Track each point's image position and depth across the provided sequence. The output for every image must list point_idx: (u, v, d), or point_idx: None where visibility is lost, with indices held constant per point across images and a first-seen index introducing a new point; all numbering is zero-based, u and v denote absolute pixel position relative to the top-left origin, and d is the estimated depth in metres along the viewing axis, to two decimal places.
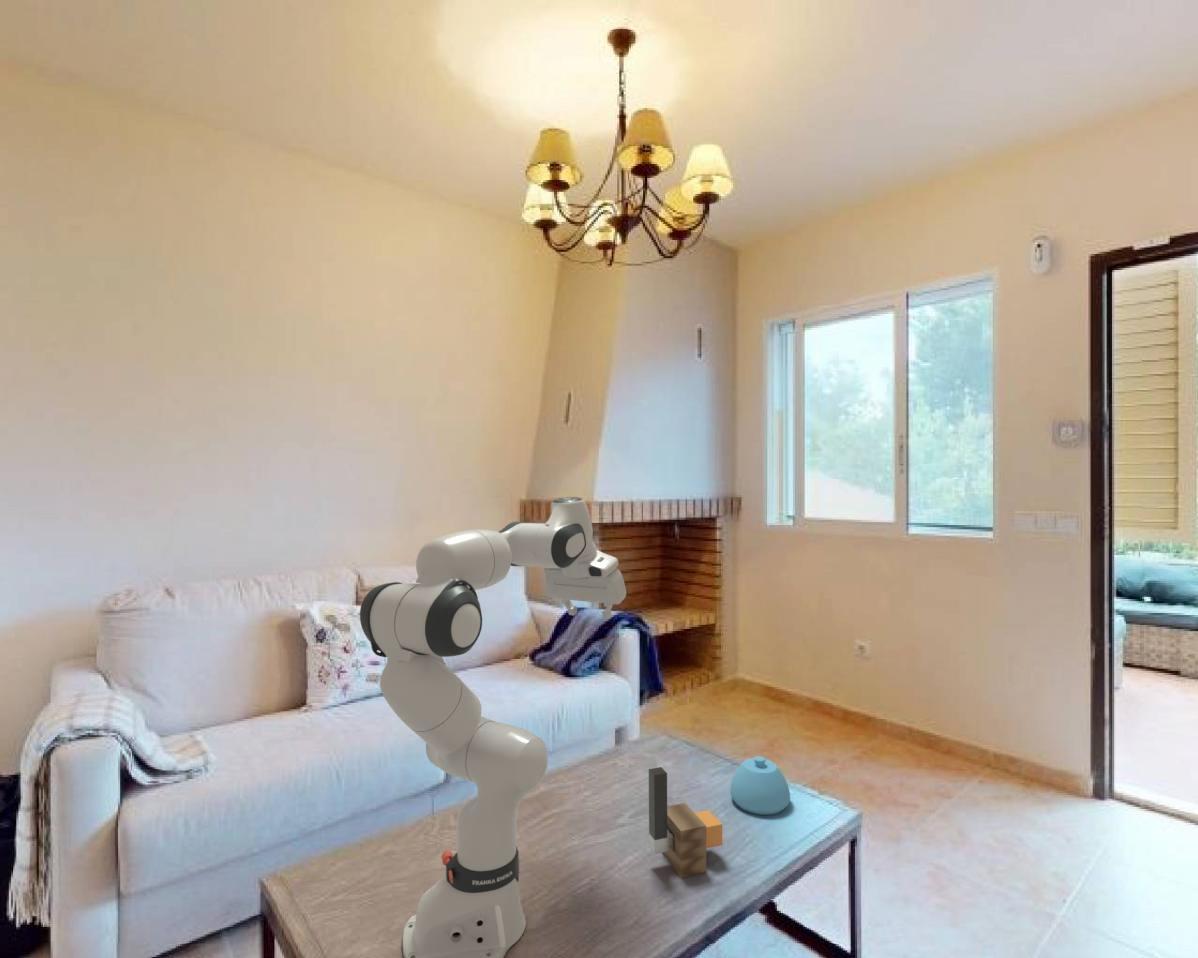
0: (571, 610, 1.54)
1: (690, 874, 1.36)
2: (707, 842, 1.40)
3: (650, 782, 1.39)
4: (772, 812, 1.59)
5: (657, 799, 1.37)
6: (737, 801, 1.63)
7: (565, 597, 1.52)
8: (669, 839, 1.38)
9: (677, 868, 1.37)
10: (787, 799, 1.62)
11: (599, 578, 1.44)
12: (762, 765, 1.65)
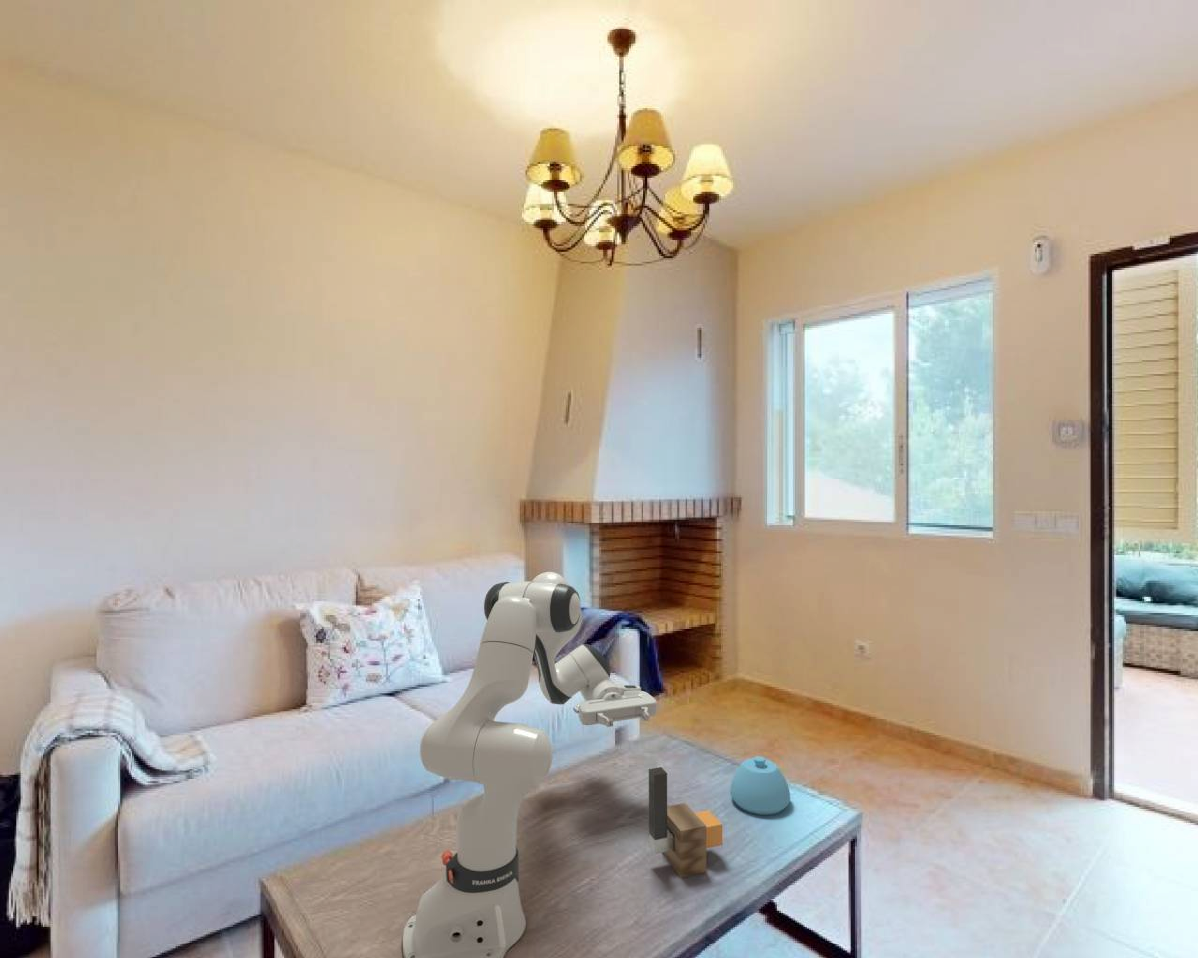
0: (609, 717, 1.55)
1: (690, 874, 1.36)
2: (707, 842, 1.40)
3: (650, 782, 1.39)
4: (772, 812, 1.59)
5: (657, 799, 1.37)
6: (737, 801, 1.63)
7: (602, 708, 1.58)
8: (669, 839, 1.38)
9: (677, 868, 1.37)
10: (787, 799, 1.62)
11: (634, 690, 1.68)
12: (762, 765, 1.65)
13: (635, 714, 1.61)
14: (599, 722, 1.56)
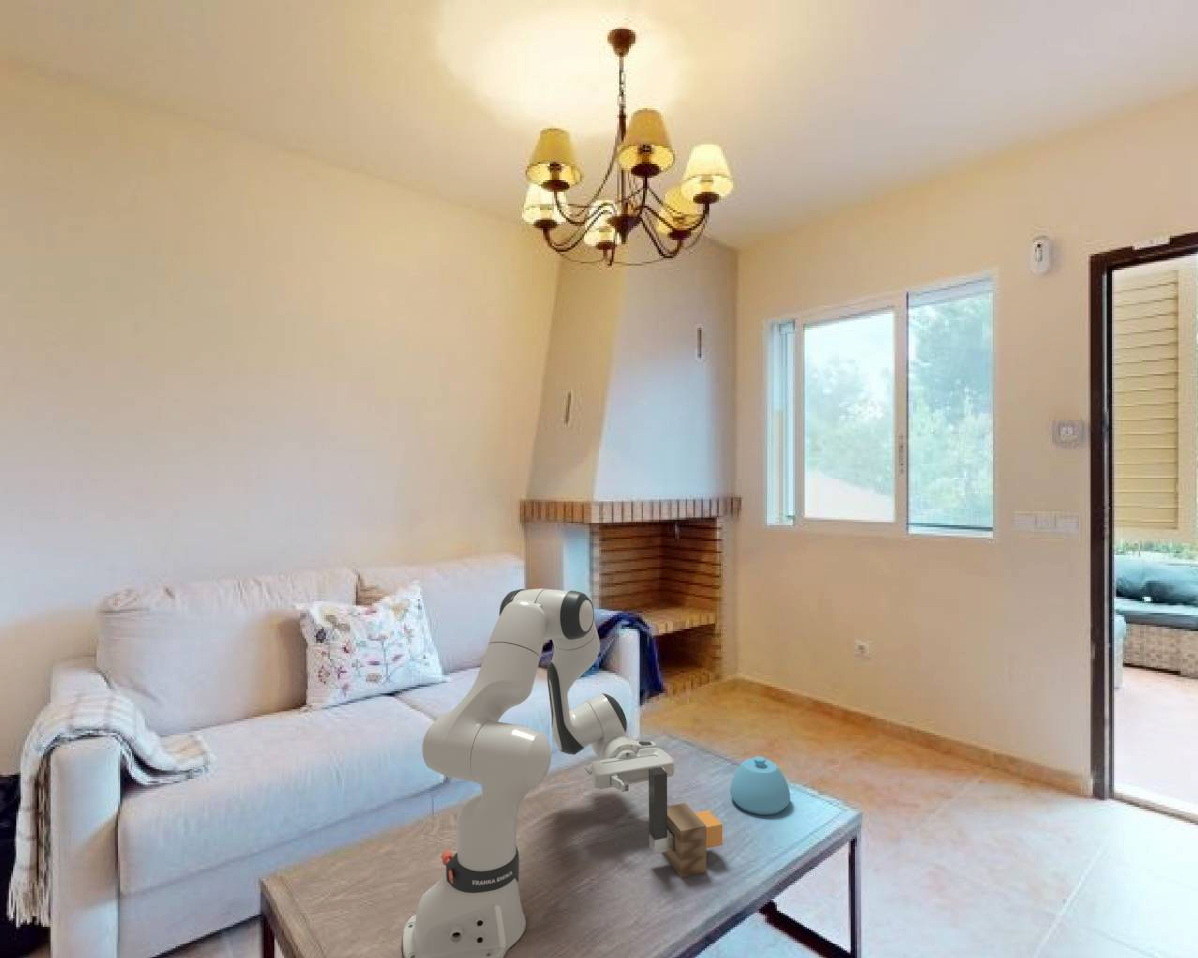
0: (624, 781, 1.45)
1: (690, 874, 1.36)
2: (707, 842, 1.40)
3: (650, 782, 1.39)
4: (772, 812, 1.59)
5: (657, 799, 1.37)
6: (737, 801, 1.63)
7: (617, 769, 1.49)
8: (669, 839, 1.38)
9: (677, 868, 1.37)
10: (787, 799, 1.62)
11: (650, 748, 1.58)
12: (762, 765, 1.65)
13: None
14: (613, 786, 1.46)
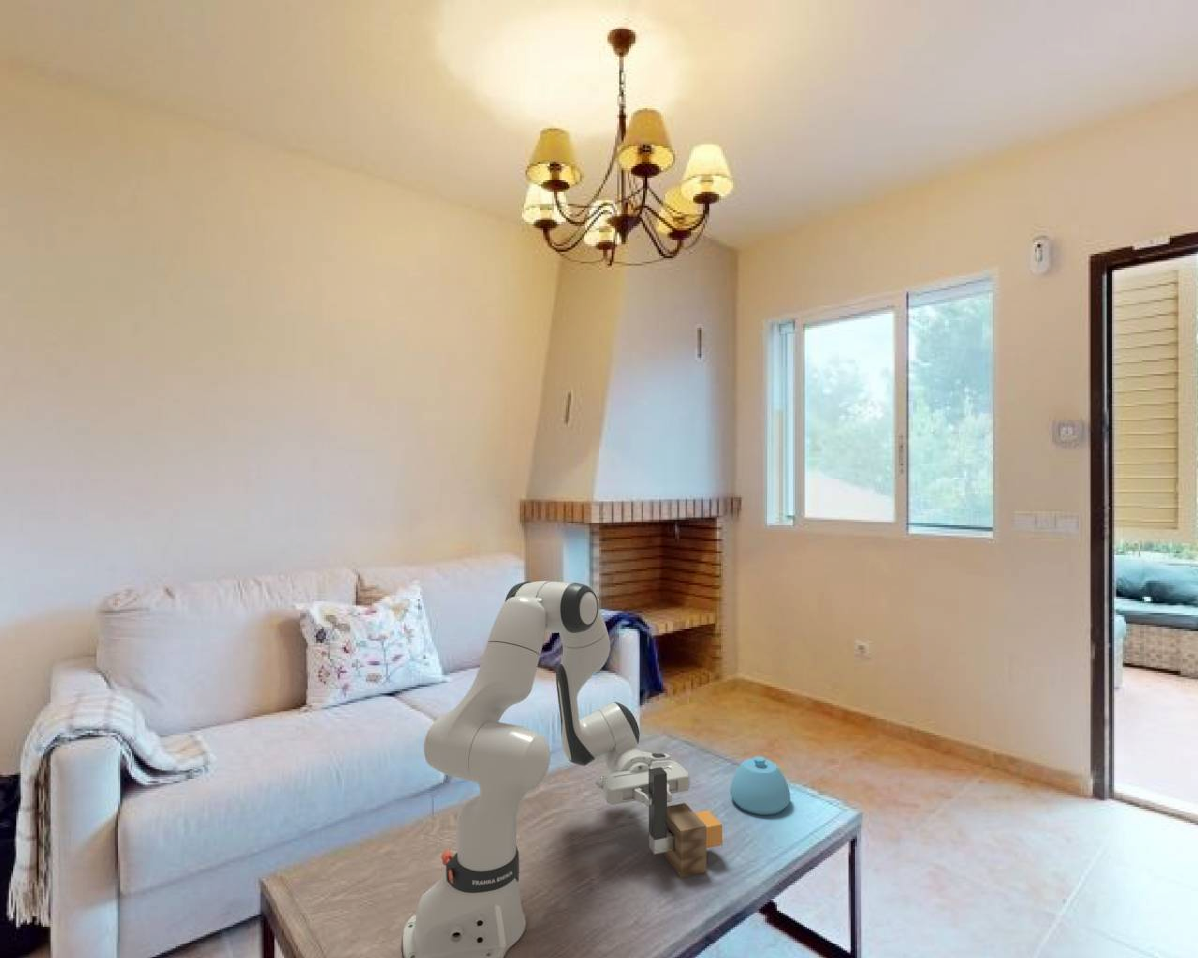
0: (648, 794, 1.39)
1: (690, 874, 1.36)
2: (707, 842, 1.40)
3: (650, 782, 1.39)
4: (772, 812, 1.59)
5: (657, 799, 1.37)
6: (737, 801, 1.63)
7: (630, 784, 1.42)
8: (669, 839, 1.38)
9: (677, 868, 1.37)
10: (787, 799, 1.62)
11: (663, 760, 1.51)
12: (762, 765, 1.65)
13: None
14: (637, 799, 1.40)
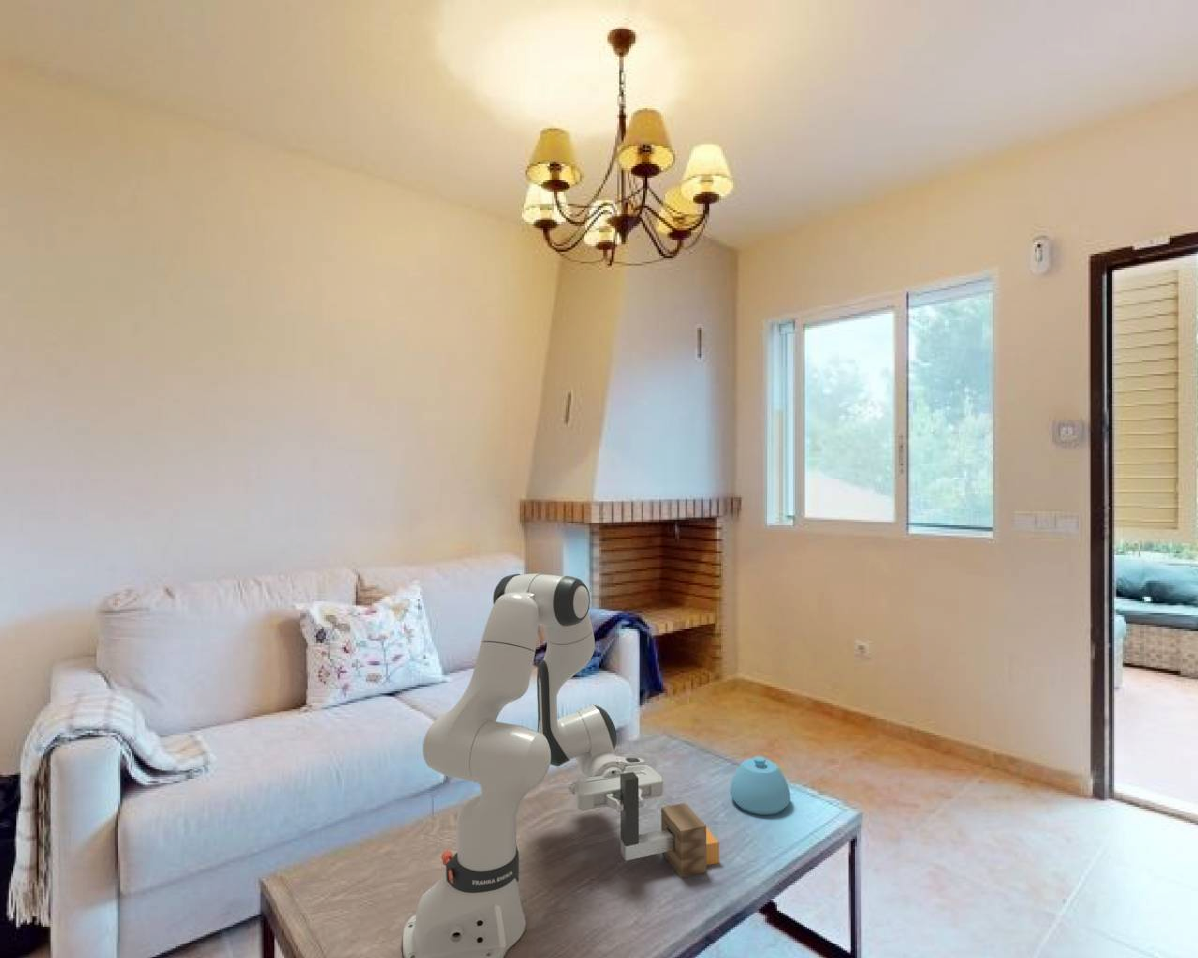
0: (620, 800, 1.37)
1: (690, 874, 1.36)
2: None
3: (621, 787, 1.37)
4: (772, 812, 1.59)
5: (628, 804, 1.35)
6: (737, 801, 1.63)
7: (601, 789, 1.40)
8: (641, 845, 1.36)
9: (677, 868, 1.37)
10: (787, 799, 1.62)
11: (637, 765, 1.49)
12: (762, 765, 1.65)
13: None
14: (608, 805, 1.38)
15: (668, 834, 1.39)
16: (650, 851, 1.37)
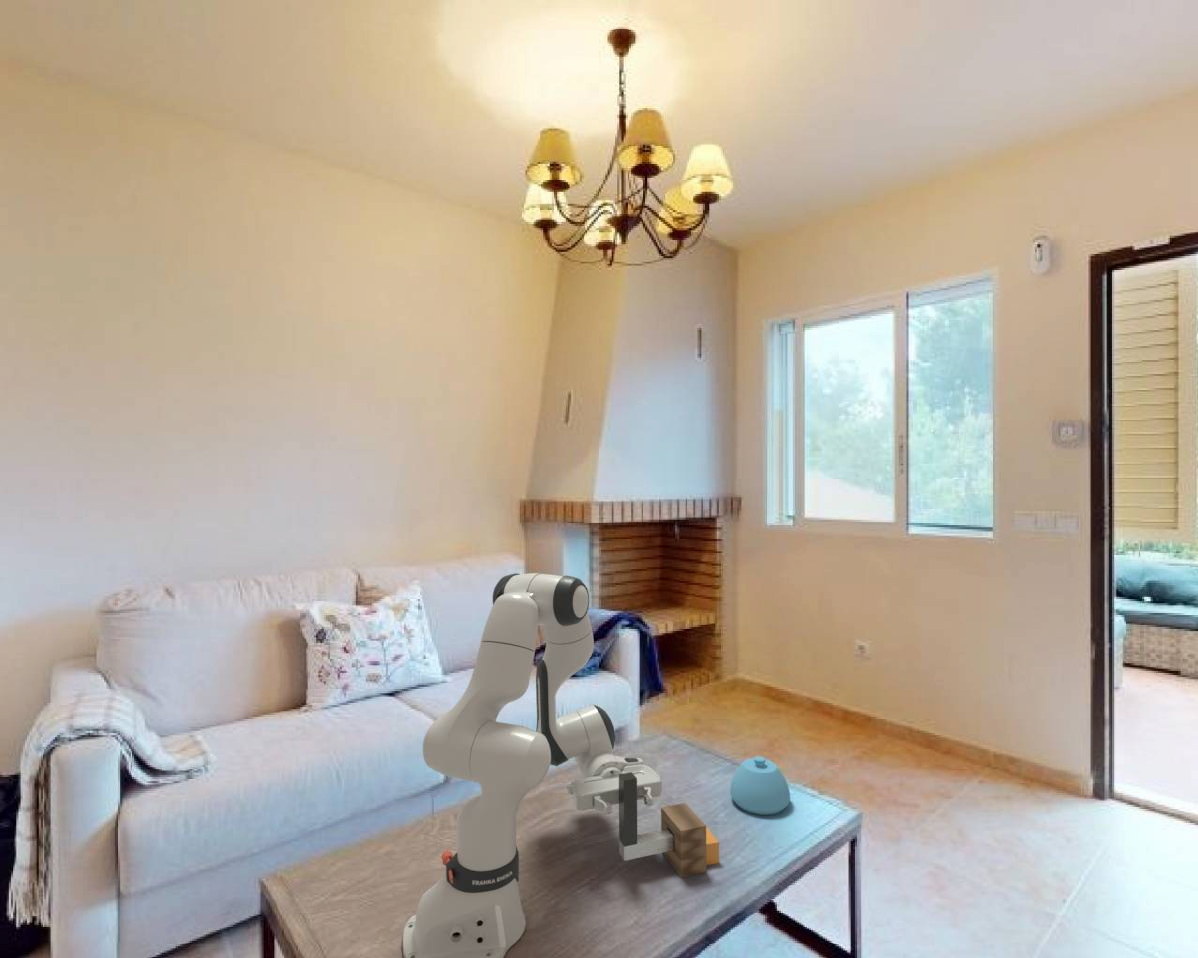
0: (607, 802, 1.36)
1: (690, 874, 1.36)
2: None
3: (620, 787, 1.37)
4: (772, 812, 1.59)
5: (627, 805, 1.35)
6: (737, 801, 1.63)
7: (600, 789, 1.39)
8: (639, 845, 1.36)
9: (677, 868, 1.37)
10: (787, 799, 1.62)
11: (636, 765, 1.49)
12: (762, 765, 1.65)
13: (637, 795, 1.42)
14: (596, 807, 1.37)
15: (666, 835, 1.39)
16: (649, 851, 1.37)
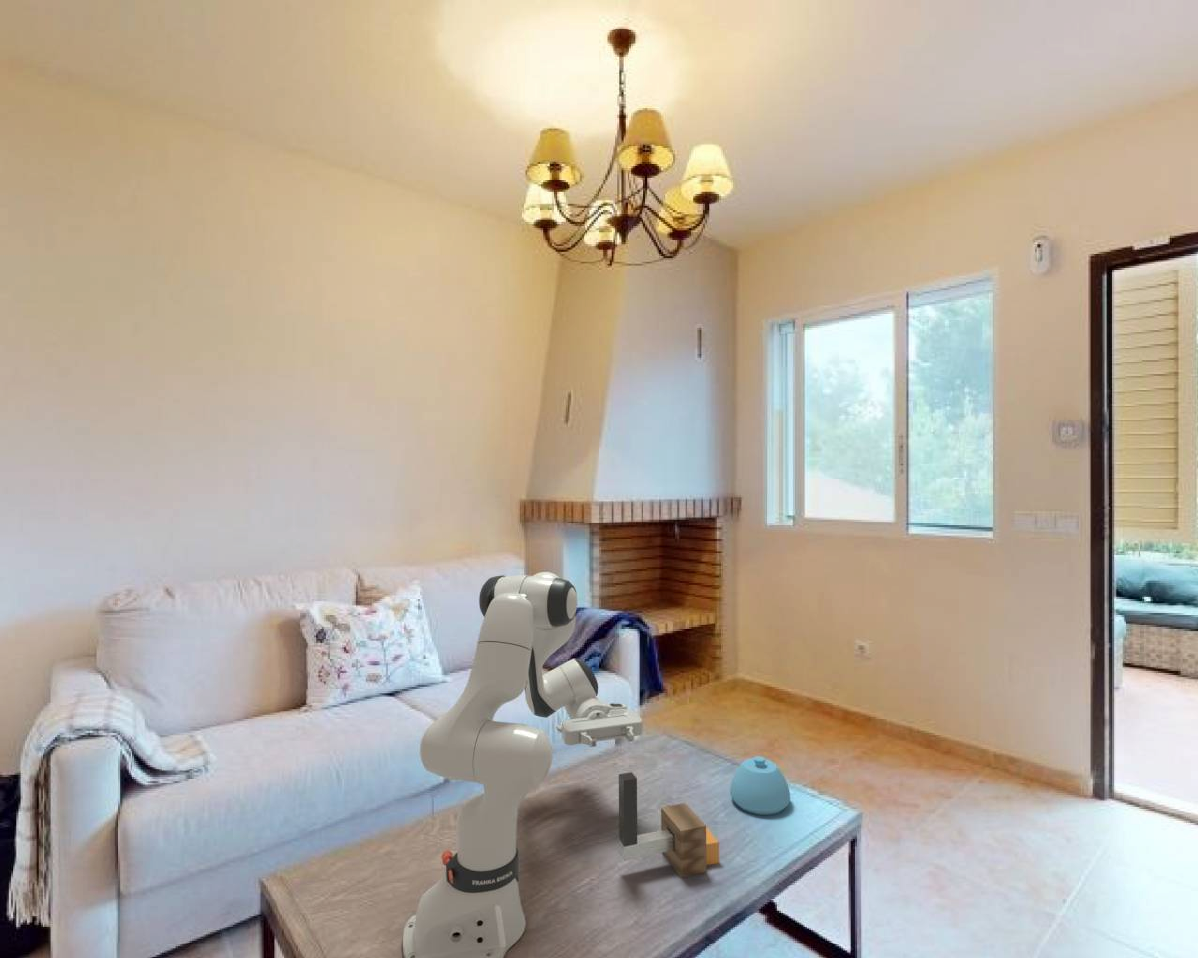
0: (592, 737, 1.50)
1: (690, 874, 1.36)
2: None
3: (620, 787, 1.37)
4: (772, 812, 1.59)
5: (627, 805, 1.35)
6: (737, 801, 1.63)
7: (586, 727, 1.54)
8: (639, 845, 1.36)
9: (677, 868, 1.37)
10: (787, 799, 1.62)
11: (620, 709, 1.63)
12: (762, 765, 1.65)
13: (620, 734, 1.56)
14: (582, 742, 1.51)
15: (666, 835, 1.39)
16: (649, 851, 1.37)
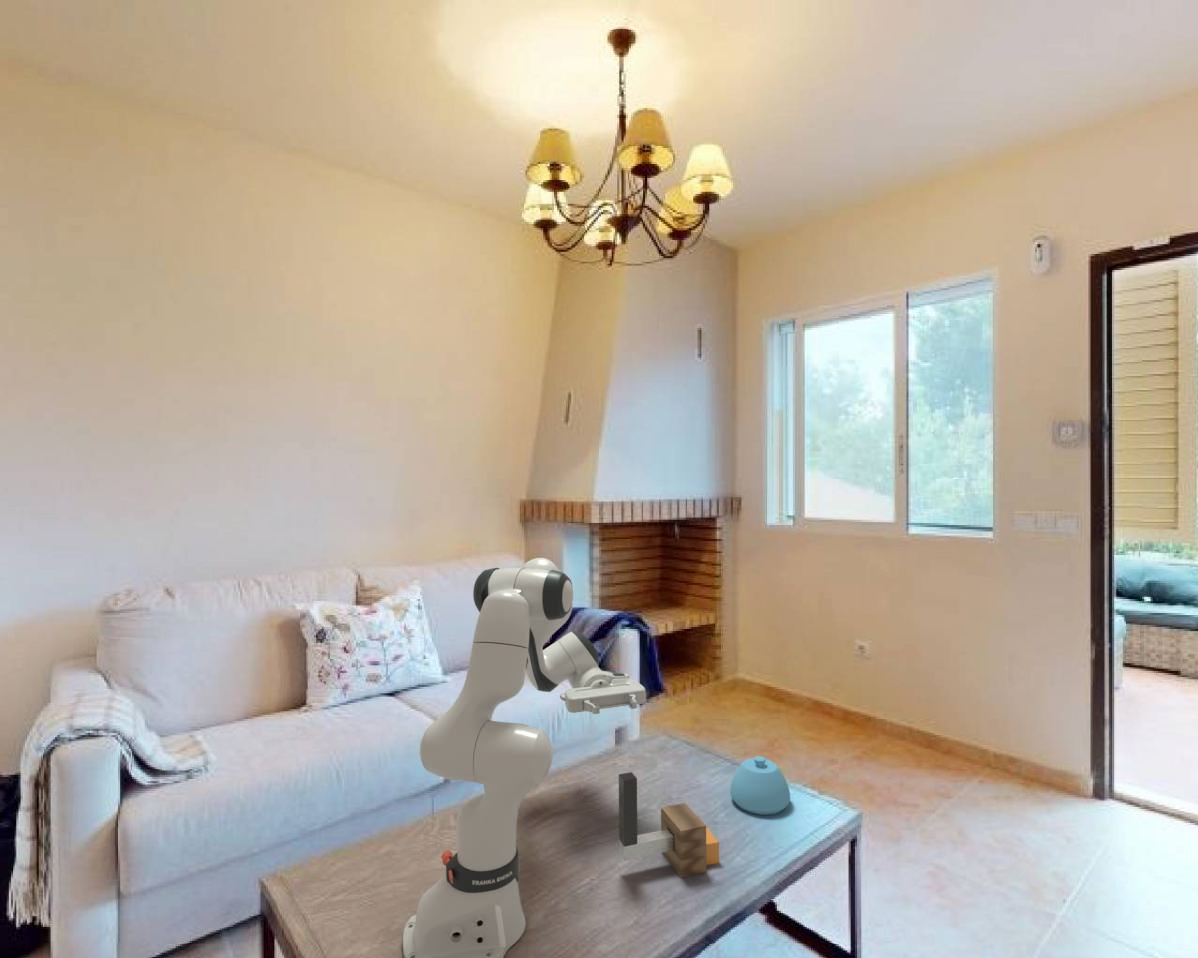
0: (596, 704, 1.52)
1: (690, 874, 1.36)
2: None
3: (620, 787, 1.37)
4: (772, 812, 1.59)
5: (627, 805, 1.35)
6: (737, 801, 1.63)
7: (589, 695, 1.55)
8: (639, 845, 1.36)
9: (677, 868, 1.37)
10: (787, 799, 1.62)
11: (622, 678, 1.65)
12: (762, 765, 1.65)
13: (623, 702, 1.58)
14: (586, 709, 1.53)
15: (666, 835, 1.39)
16: (649, 851, 1.37)
